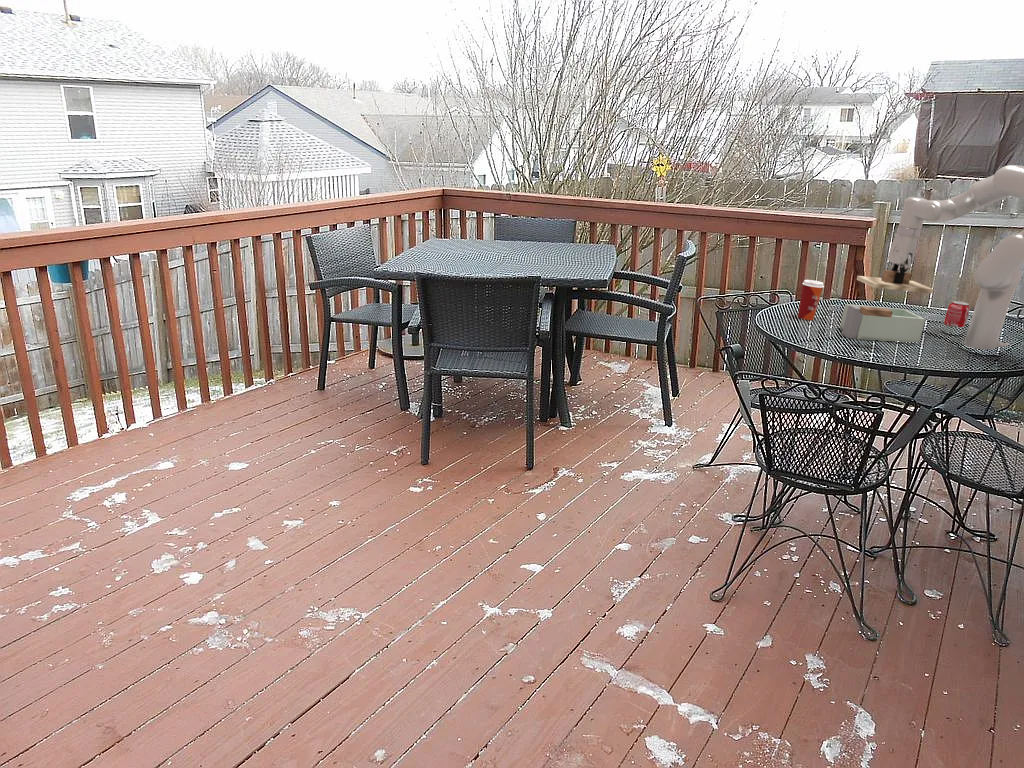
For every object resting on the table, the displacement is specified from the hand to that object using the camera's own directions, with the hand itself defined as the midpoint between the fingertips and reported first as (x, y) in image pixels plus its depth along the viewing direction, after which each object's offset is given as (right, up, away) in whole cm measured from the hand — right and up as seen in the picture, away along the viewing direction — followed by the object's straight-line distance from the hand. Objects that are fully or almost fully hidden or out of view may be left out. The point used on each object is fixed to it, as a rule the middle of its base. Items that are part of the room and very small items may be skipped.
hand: (895, 281), depth 285 cm
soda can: (+22, -19, +3) cm, 30 cm away
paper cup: (-31, -13, +5) cm, 34 cm away
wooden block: (-21, -15, -30) cm, 39 cm away
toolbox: (-13, -21, -12) cm, 27 cm away
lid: (0, -2, +1) cm, 2 cm away
